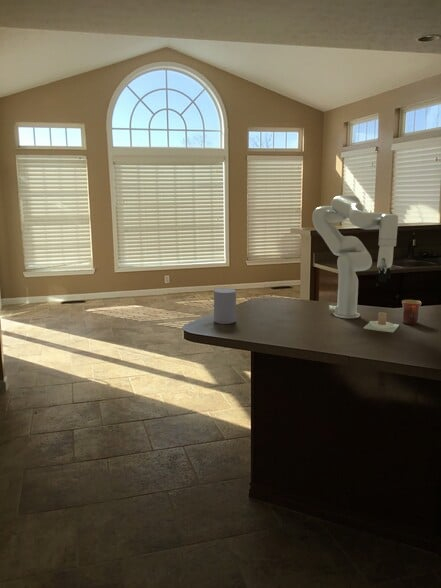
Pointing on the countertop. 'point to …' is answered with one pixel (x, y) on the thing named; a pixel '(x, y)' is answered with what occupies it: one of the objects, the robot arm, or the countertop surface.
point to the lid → (382, 322)
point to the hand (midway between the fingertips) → (384, 280)
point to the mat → (381, 329)
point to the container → (224, 306)
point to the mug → (410, 311)
